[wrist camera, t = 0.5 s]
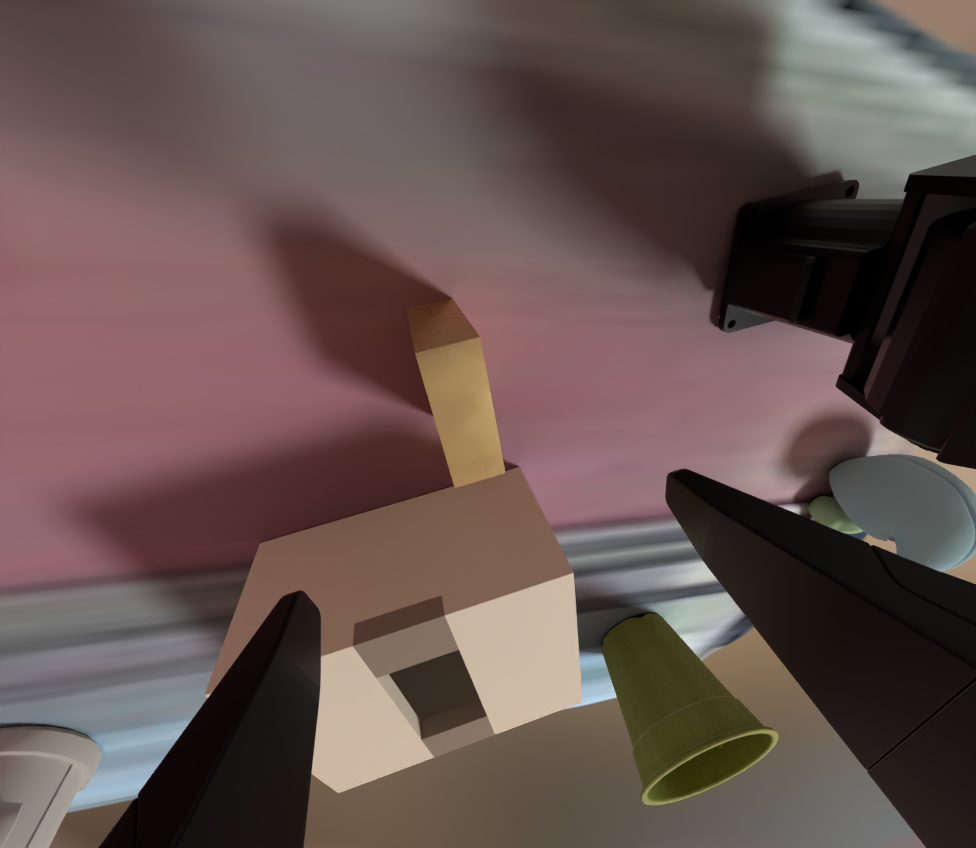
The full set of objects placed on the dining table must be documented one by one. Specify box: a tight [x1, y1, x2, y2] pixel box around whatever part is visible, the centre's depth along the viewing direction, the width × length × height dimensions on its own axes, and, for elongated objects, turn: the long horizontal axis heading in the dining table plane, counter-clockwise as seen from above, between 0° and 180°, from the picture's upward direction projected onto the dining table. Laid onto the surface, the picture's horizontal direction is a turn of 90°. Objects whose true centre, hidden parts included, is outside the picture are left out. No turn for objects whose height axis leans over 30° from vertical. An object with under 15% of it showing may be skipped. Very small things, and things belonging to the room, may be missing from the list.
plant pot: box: [602, 614, 778, 805], centre depth 34 cm, size 12×12×11 cm
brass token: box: [406, 298, 505, 488], centre depth 16 cm, size 2×6×6 cm, turn 10°
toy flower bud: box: [809, 454, 976, 572], centre depth 30 cm, size 7×9×12 cm
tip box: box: [205, 467, 582, 793], centre depth 23 cm, size 16×14×8 cm
